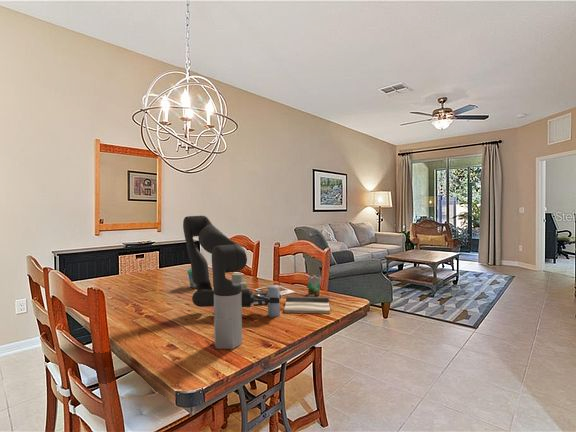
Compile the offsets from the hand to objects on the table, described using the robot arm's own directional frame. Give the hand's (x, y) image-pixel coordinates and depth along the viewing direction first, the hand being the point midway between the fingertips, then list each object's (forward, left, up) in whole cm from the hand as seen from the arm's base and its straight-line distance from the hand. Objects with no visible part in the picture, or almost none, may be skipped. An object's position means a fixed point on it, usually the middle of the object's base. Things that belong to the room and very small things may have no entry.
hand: (279, 298), depth 132 cm
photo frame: (+37, +7, -8) cm, 38 cm away
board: (+10, -11, -7) cm, 17 cm away
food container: (+30, -15, -7) cm, 34 cm away
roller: (0, +3, -7) cm, 7 cm away
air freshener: (+34, +27, -7) cm, 44 cm away
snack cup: (+44, +53, -7) cm, 69 cm away
